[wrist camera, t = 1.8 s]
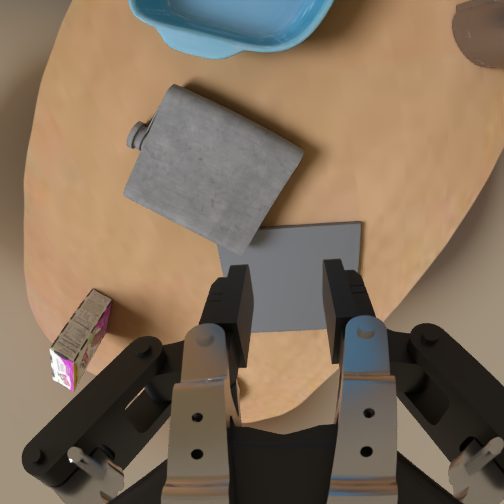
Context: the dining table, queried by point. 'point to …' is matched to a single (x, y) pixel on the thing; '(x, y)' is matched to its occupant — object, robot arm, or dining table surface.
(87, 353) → the candy bar box
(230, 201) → the hip flask
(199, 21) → the casserole dish
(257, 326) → the mat
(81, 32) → the dining table surface
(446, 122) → the dining table surface
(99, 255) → the dining table surface
